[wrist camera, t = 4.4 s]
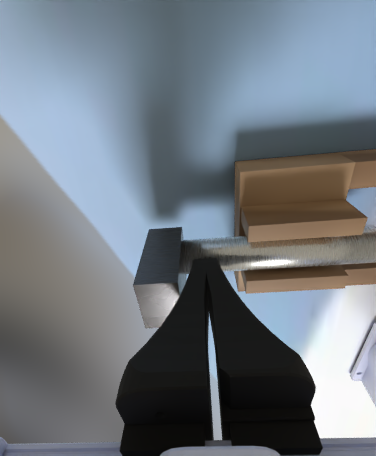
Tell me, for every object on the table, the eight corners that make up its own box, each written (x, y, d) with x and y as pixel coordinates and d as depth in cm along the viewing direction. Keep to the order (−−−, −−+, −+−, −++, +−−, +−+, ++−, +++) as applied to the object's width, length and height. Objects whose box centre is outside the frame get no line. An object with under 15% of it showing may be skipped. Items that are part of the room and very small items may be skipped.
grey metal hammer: (366, 254, 16) (426, 315, 12) (156, 267, 16) (145, 328, 12) (381, 212, 14) (456, 266, 10) (148, 229, 15) (133, 285, 11)
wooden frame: (405, 262, 19) (455, 306, 15) (234, 273, 20) (243, 316, 16) (462, 141, 14) (553, 162, 11) (234, 161, 15) (248, 187, 11)
